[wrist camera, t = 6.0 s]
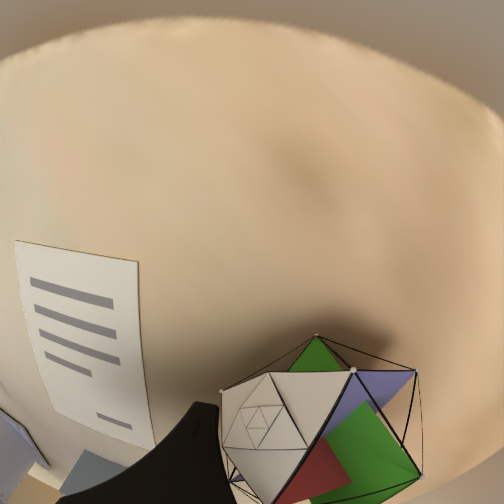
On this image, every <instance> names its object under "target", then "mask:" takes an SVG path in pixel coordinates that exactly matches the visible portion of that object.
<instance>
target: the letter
mask: <svg viewBox="0 0 504 504" xmlns="http://www.w3.org/2000/svg"><path fill="white" fill-rule="evenodd" d="M15 253H16V264H17V273H18V281H19V288H20V294H21V300H22V305H23V311H24V315H25V320H26V325H27V329H28V333H29V337H30V341H31V344H32V348H33V352H34V355H35V358H36V362H37V365H38V368H39V371H40V374H41V377H42V379H43V382H44V385H45V388H46V390H47V393H48V395H49V398H50V400H51V403H52V405H53V408H54V410H55V411H56V412H58V413H60V414H62V415H63V416H65V417H67V418H69V419H71V420H73V421H76V422H78V423H80V424H82V425H84V426H86V427H89V428H91V429H93V430H95V431H98V432H100V433H103V434H105V435H108V436H110V437H113V438H115V439H118V440H121V441H123V442H126V443H129V444H132V445H135V446H138V447H141V448H144V449H148V450H152V449H153V448H155V447H156V444H155V439H154V434H153V429H152V424H151V418H150V412H149V406H148V399H147V392H146V385H145V377H144V369H143V359H142V348H141V336H140V320H139V296H138V262H136V261H129V260H123V259H117V258H111V257H105V256H99V255H93V254H87V253H82V252H76V251H70V250H65V249H59V248H54V247H49V246H43V245H38V244H33V243H28V242H23V241H17V240H15Z"/></svg>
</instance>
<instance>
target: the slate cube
mask: <svg viewBox="0 0 504 504" xmlns="http://www.w3.org/2000/svg"><path fill="white" fill-rule="evenodd" d="M126 469H127V468H126V467H124V466H121V465H118V464H116V463H113V462H111V461H108V460H106V459H103V458H101V457H99V456H97V455H94V454H92V453H90V452H88V451H86V450H84V452H83V453H82V455H81V457H80V458H79V460H78V461H77V463H76V464H75V466H74V467H73V469H72V471H71V472H70V474H69V475H68V477H67V478H66V480H65V482H64V483H63V485H62V486H61V488H60V490H59V491H60V493H61V494H62V495H63V496H67V495H71V494H74V493H77V492H80V491H83V490H86V489H89V488H91V487H93V486H96V485H98V484H100V483H102V482H104V481H106V480H109V479H110V478H112V477H114V476H116V475H118V474H119V473H121V472H123V471H124V470H126Z"/></svg>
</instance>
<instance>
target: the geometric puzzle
mask: <svg viewBox="0 0 504 504" xmlns="http://www.w3.org/2000/svg"><path fill="white" fill-rule="evenodd" d="M320 337H321V336H319V334H317V333H316V334H315V336H314V338H313V337H312V338H313V339H312V338H311V339H312V340H311V342H310V343H309V344H308V346H307V347H306V348H305V350H304V351H303V352H302V353H301V355H300V356H299V357H298V358H297V360H296V361H295V362H294V363H293V365H292V366H291V367H290V368H289V370H288V371H287V372H284V371H268V372H265V373H263V374H261V375H259V376H256V377H254V378H252V379H250V380H247V381H245V382H242V383H240V384H238V385H235V384H234V385H235V386H233V385H232V386H233V387H231V386H230V388H229V387H228V388H226V389H224V390H223V389H221V390H220V391H219V392H220V394H222V448H223V450H224V451H225V453H226V457H227V456H228V457H229V459H230V460H231V462H232V463H233V465H234V466H235V467H234V470H233V472H232V474H231V476H230V479H229V480H228V481H229V483H231V484H233V485H234V486H235V487H236V486H237V485H235V484H234V483H232V482H239V481H245V482H246V483H247V484H248V486H249V487H250V488H251V490H252V491H253V492H254V494H255V495H256V496H257V497H258V498H257V497H256V496H254V495H252V494H250V493H249V492H247V491H245V490H243V489H242V488H240V487H238V486H237V487H238V488H240V489H242V490H243V491H245V492H247V493H248V494H250V495H252V496H254V497H255V498H257V499H259V500H260V501H261V503H262V504H293V503H296V502H300V501H303V500H306V499H309V500H310V502H311V504H381V503H382V502H384V501H386V500H388V499H389V498H391V497H393V496H394V495H396V494H397V493H399V492H401V491H402V490H404V489H405V488H407V487H408V486H410V485H411V484H413V483H414V482H416V481H417V480H418V479H421V480H422V479H424V477H425V476H424V475H423V430H422V474H421V472H420V470H419V469H418V467H417V466H416V464H415V462H414V461H413V459H412V458H411V456H410V454H409V453H408V451H407V450H406V448H405V446H404V445H403V442H404V438H405V434H406V430H407V426H408V422H409V417H410V412H411V407H412V402H413V396H414V391H415V384H416V377H417V376H418V373H417V372H418V371H419V369H418V368H415V369H412V368H409V367H405V366H402V365H399V364H396V363H393V362H390V361H387V360H384V359H381V358H378V357H376V358H378V359H381V360H384V361H387V362H390V363H393V364H396V365H399V366H402V367H405V368H409V369H412V370H362V369H356V367H351V366H350V365H349V364H348V363H347V362H346V361H345V360H343V359H342V358H341V357H340V356H339V355H338V354H337V353H336V352H335V351H334V350H333V349H332V348H330V347H329V346H328V345H327V344H326V343H325V342H324V341H323V340H322V339H321V338H323V337H321V338H320ZM323 339H326V338H323ZM309 340H310V339H309ZM309 340H308V341H309ZM326 340H328V339H326ZM329 341H331V340H329ZM306 342H307V341H306ZM306 342H305V343H306ZM322 342H323V343H324V344H325V345H326V346H327V347H328V348H329V349H330V350H331V351H332V352H333V353H334V354H335V355H336V356H337V357H338V358H339V359H340V360H341V361H342V362H343V363H344V364H345V365H346V366H348V367H349V368H350V370H342V368H341V367H340V366H339V364H338V363H337V362H336V360H335V359H334V358H333V356H332V355H331V354H330V352H329V351H328V350H327V348H326V347H325V346H324V344H323V343H322ZM331 342H334V341H331ZM334 343H336V342H334ZM303 344H304V343H303ZM337 344H339V343H337ZM339 345H342V344H339ZM300 346H301V345H300ZM342 346H345V345H342ZM298 347H299V346H298ZM298 347H297V348H298ZM345 347H347V346H345ZM347 348H350V347H347ZM295 349H296V348H295ZM295 349H294V350H295ZM350 349H353V348H350ZM353 350H356V349H353ZM292 351H293V350H292ZM292 351H291V352H292ZM356 351H358V350H356ZM358 352H361V351H358ZM289 353H290V352H289ZM361 353H364V352H361ZM287 354H288V353H287ZM287 354H286V355H287ZM364 354H367V353H364ZM367 355H370V354H367ZM284 356H285V355H284ZM370 356H373V355H370ZM282 357H283V356H282ZM282 357H281V358H282ZM373 357H375V356H373ZM279 359H280V358H279ZM279 359H278V360H279ZM276 361H277V360H276ZM274 362H275V361H274ZM274 362H273V363H274ZM271 364H272V363H271ZM269 365H270V364H269ZM269 365H268V366H269ZM266 367H267V366H266ZM264 368H265V367H264ZM262 369H263V368H262ZM262 369H261V370H262ZM259 371H260V370H259ZM257 372H258V371H257ZM257 372H255V373H257ZM255 373H254V374H255ZM414 373H415V380H414V386H413V392H412V398H411V404H410V409H409V414H408V419H407V423H406V428H405V432H404V436H403V440H402V442H401V440H400V439H399V437H398V435H397V434H396V432H395V431H394V429H393V428H392V426H391V425H390V423H389V421H388V420H387V418H386V417H385V415H384V414H383V412H382V411H381V408H382V407H383V406H384V405H385V404H386V403H387V402H388V401H389V400H390V399H391V398H392V397H393V396H394V395H395V394H396V393H397V392H398V391H399V390H400V389H401V388H402V387H403V386H404V385H405V383H406V382H407V381H408V380H409V379H410V378H411V377H412V376H413V374H414ZM252 375H253V374H252ZM250 376H251V375H250ZM250 376H248V377H250ZM248 377H247V378H248ZM245 379H246V378H245ZM243 380H244V379H243ZM241 381H242V380H241ZM241 381H239V382H241ZM239 382H238V383H239ZM236 384H237V383H236ZM418 385H419V381H418ZM419 394H420V390H419ZM420 405H421V400H420ZM378 411H379V412H380V414H381V415H382V417H383V418H384V420H385V421H386V423H387V425H388V426H389V428H390V429H391V431H392V432H393V434H394V435H395V437H396V438H397V440H398V442H399V443H400V445H401V447H400V446H399V445H398V443H397V442H396V441H395V439H394V438H393V437H392V435H391V434H390V432H389V431H388V430H387V428H386V427H385V426H384V424H383V423H382V422H381V420H380V419H379V418H378V416H377V415H376V413H377V412H378ZM421 420H422V412H421ZM402 448H403V449H404V451H405V453H406V454H407V455H406V454H405V453H404V451H403V450H402ZM407 456H408V457H409V458H408V457H407ZM410 460H411V461H410ZM227 468H228V460H227ZM235 469H237V470H238V472H239V473H240V474H239V475H237V476H236V477H235V478H233V479H232V476H233V474H234V472H235ZM228 478H229V471H228ZM231 479H232V480H231ZM237 487H236V488H237ZM240 489H239V490H240ZM240 491H241V490H240ZM243 493H244V492H243ZM244 494H245V493H244ZM247 496H248V495H247ZM248 497H249V496H248ZM250 498H251V497H250ZM251 499H252V498H251ZM252 500H253V499H252ZM254 501H255V500H254ZM255 502H256V501H255ZM257 503H258V502H257ZM258 504H259V503H258Z"/></svg>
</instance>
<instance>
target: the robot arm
mask: <svg viewBox="0 0 504 504" xmlns="http://www.w3.org/2000/svg"><path fill="white" fill-rule="evenodd" d="M219 408H220V407H218V406H217V405H214V404H208V403H203V402H197V401H196V402H194V403H193V404H192V405H191V407H190V408H189V410H188V411H187V413H186V414H185V415H184V417H183V418H182V419H181V420H180V422H179V423H178V424H177V425H176V426H175V427H174V428H173V430H172V431H171V432H170V433H169V434H168V435H167V436H166V437H165V438H164V439H163V440H162V441H161V442H160V443H159V444H158V445H157V446H156V447H155V448H153V449H152V450H151V451H150V452H149V453H148V454H146V455H145V456H144V457H143V458H141V459H140V460H139V461H137V462H136V463H135V464H133V465H132V466H130V467H129V468H127V469H126V470H124V471H123V472H121V473H119V474H118V475H116V476H114V477H112V478H110V479H109V480H106V481H104V482H102V483H100V484H98V485H96V486H93V487H91V488H89V489H86V490H83V491H80V492H77V493H74V494H71V495H67V496H64V497H61V498H60V499H59V500H58V501H57V502H56V503H55V504H237V502H236V500H235V497H234V495H233V492H232V490H231V487H230V484H229V481H228V478H227V475H226V471H225V468H224V464H223V460H222V455H221V450H220V443H219V436H218V423H219ZM35 462H37V463H38V464H40V465H41V466H43V467H44V468H46V469H47V470H50V469H51V468H50V466H49V465H48V464H47V462H46V461H45V459H44V458H43V456H42V455H41V454H40V452H39V451H38V449H37V447H36V446H35V444H34V443H33V441H32V440H31V438H30V436H29V435H28V433H27V431H26V430H25V429H24V427H22V426H21V425H20V424H18V423H17V422H16V421H14V420H13V419H12V418H10V417H9V416H8V415H6V414H5V413H4V412H3V411H1V410H0V504H7V503H6V502H7V501H8V499H9V498H10V496H11V495H12V494H13V492H14V491H15V489H16V488H17V486H18V485H19V483H20V482H21V481H22V479H23V478H24V477H25V475H26V474H27V473H28V471H29V470H30V469H31V467H32V466H33V464H34V463H35ZM1 497H2V498H3V499H4V500H5V501H6V502H5V501H4V500H3V499H2V498H1Z"/></svg>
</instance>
